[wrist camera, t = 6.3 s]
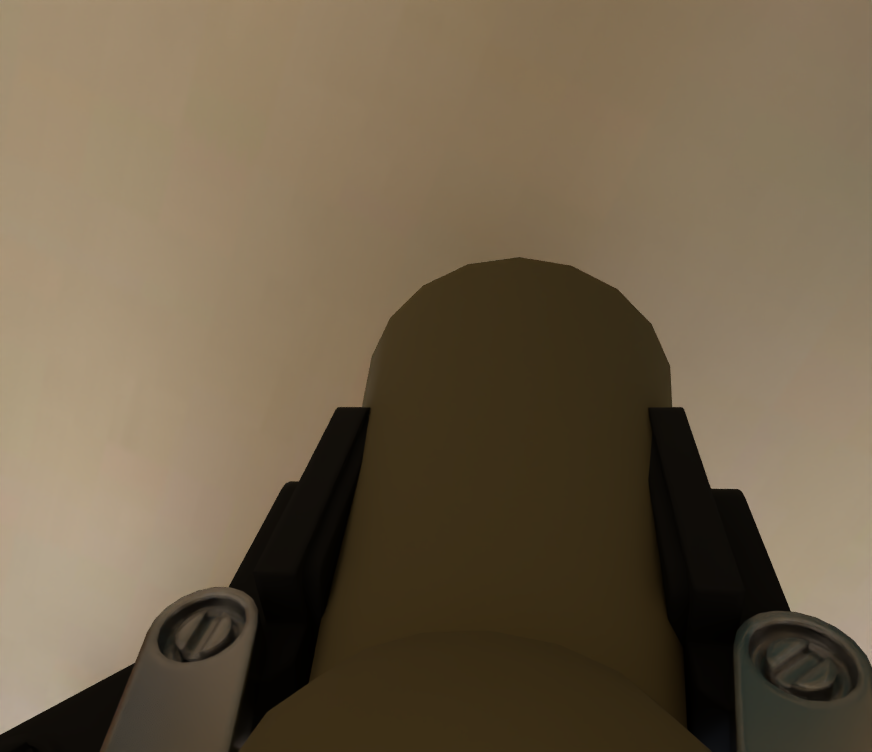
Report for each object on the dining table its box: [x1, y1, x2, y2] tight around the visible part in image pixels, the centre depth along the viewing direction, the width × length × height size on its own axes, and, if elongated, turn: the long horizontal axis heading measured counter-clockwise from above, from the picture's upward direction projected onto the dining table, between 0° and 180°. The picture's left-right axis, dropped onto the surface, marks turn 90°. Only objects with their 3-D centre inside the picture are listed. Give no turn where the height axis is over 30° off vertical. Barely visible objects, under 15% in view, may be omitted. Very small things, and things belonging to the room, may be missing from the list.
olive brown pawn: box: [238, 257, 712, 752], centre depth 9 cm, size 6×6×11 cm
